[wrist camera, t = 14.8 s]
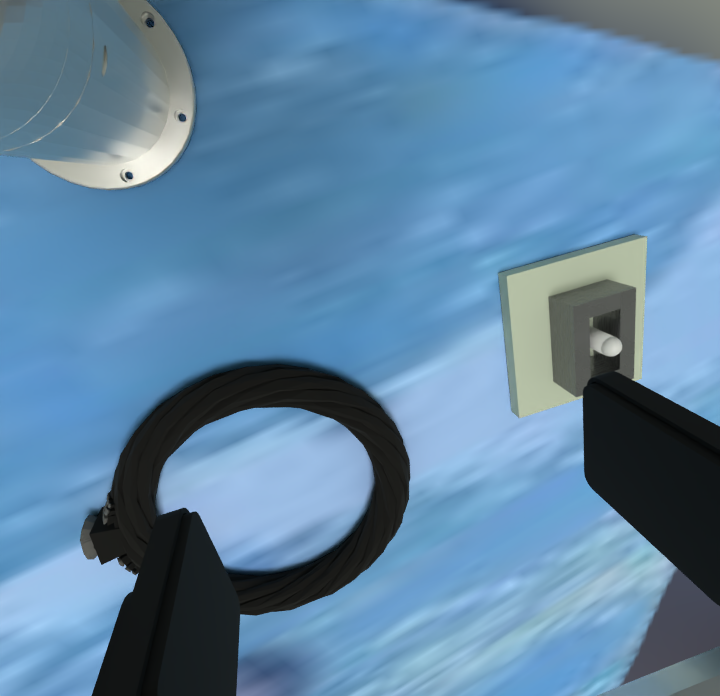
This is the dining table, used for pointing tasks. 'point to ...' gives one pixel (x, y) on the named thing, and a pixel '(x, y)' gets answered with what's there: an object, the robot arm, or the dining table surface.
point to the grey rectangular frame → (572, 332)
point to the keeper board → (532, 323)
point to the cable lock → (223, 398)
